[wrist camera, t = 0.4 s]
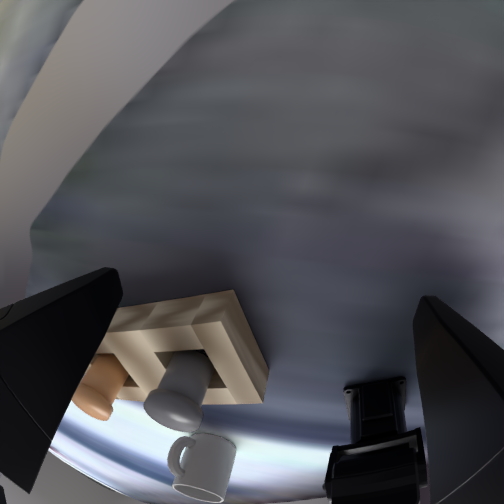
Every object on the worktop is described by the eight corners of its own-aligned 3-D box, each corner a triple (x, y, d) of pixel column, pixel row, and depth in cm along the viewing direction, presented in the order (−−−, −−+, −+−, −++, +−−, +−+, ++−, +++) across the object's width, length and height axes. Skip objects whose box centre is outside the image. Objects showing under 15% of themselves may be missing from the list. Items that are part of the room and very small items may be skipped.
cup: (214, 456, 42) (200, 502, 35) (166, 426, 40) (146, 475, 32) (247, 450, 39) (234, 502, 32) (197, 418, 37) (176, 474, 29)
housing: (233, 289, 25) (220, 321, 22) (269, 370, 29) (262, 403, 26) (75, 313, 31) (56, 335, 28) (118, 375, 35) (105, 397, 32)
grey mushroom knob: (226, 380, 26) (209, 433, 21) (182, 381, 28) (162, 429, 23) (205, 343, 25) (182, 399, 19) (160, 347, 26) (132, 397, 21)
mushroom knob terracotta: (140, 380, 29) (117, 423, 24) (110, 379, 31) (87, 417, 26) (117, 349, 28) (88, 392, 22) (88, 349, 29) (60, 388, 24)
